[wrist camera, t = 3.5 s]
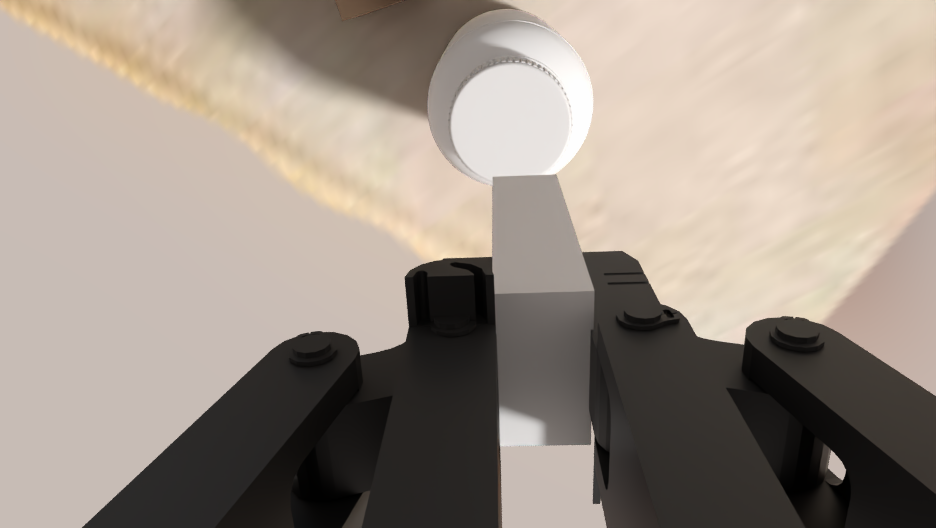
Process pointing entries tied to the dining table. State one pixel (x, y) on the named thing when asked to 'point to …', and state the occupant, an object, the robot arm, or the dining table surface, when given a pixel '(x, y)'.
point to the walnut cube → (361, 7)
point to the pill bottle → (509, 98)
